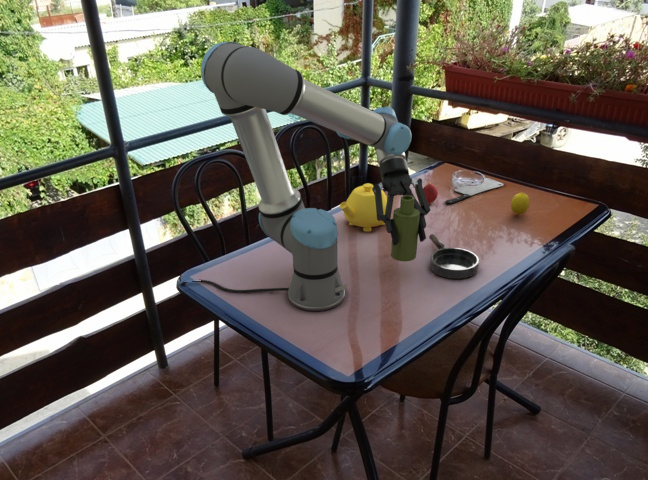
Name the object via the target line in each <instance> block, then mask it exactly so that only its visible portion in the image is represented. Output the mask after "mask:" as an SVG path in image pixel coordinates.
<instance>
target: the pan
mask: <svg viewBox="0 0 648 480" xmlns="http://www.w3.org/2000/svg"><path fill="white" fill-rule="evenodd" d="M479 265H480V258H479V256H477V254H476V253H475V252H472V251H471V250H468V249H464V248H460V247H446V248H442V249H436V250H434V251H433V252H431V254H430V256H429V269H430V271H432V272H433V273H434V274H436V275H437V276H439V277H443V278H448V279H456V280H457V279H459V280H460V279H467V278H469V277H473V276H474V275H476V274H477V272H478V270H479Z"/></svg>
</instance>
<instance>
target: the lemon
mask: <svg viewBox="0 0 648 480" xmlns="http://www.w3.org/2000/svg"><path fill="white" fill-rule="evenodd" d="M529 207H530V197H529V196H528V195H527V194H526V193H524V192H519V193H517V194H515V195H514V196H513V197H512V199H511V202H510V208H511V211H512V212H513V213H514V214H516V215H517V216H520V215H522V214H525V213H526V212H527V211H528V209H529Z"/></svg>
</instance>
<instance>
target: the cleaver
mask: <svg viewBox="0 0 648 480" xmlns="http://www.w3.org/2000/svg"><path fill="white" fill-rule="evenodd" d="M483 178H484V182H483V183H482V184H481V185H477V186H465V185H466V184H464V185H462V186H459V187H458V188H455V189H454V190H453V191H454V192H456V193H459V194H462V195H459V196H458V197H455V198H452V199H447V200H445V204H447V205H452V204H456V203H458V202H461V201H463V200H465V199H467V198H470V197H473V196H475V195H478V194H481V193H484V192H487V191H489V190H494V189H498V188H500V187H504V183H503V182H501V181H497V180H495V179H493V178H489V177H483Z"/></svg>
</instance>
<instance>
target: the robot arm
mask: <svg viewBox="0 0 648 480" xmlns="http://www.w3.org/2000/svg"><path fill="white" fill-rule="evenodd" d="M200 77H201V80H202V83H203V84H204V86H205V87H206V89H208V91H210V93H212V94H213V95H214V97H215V100H216V102H217V105H218V107H219V110H220V113H221V114H222V115H223V116H226V117H228V118H230V120H231V123H232V125H233V129H234V131H235V134H236V137H237V139H238V142H239V144H240V147H241V150H242V152H243V154H244V157H245V160H246V163H247V166H248V168H249V170H250V173H251V176H252V178H253V180H254V183H255V186H256V189H257V191H258V194H259V196H260V200H259V201H260V202H259V203H258V210H259V213H258V222H259V226H260V228H261V230H262V231H263V232H264V234H265V235H266V237H268V238H269V239H271V240H272V241H273V242H275V243H277V244H279V245H280V246H281V247H282V248H284V249H285V250H286V251H288V253H290V254H291V255H292V268H293V269H292V270H293V272H292V276H291V279H290V283H289V285H288V287H273V288H272V287H271V288H253V289H233V288H232V289H231V288H227V287H224V286H222V285H220V284H218V283H216V282H214V281H211V280H206V279H200V280H201V281H192V282H191V283H202V284H203V283H204V284H209V285H212V286H214V287H216V288H218V289H220V290H222V291H224V292H228V293H236V294H244V293H245V294H246V293H260V292H261V293H262V292H283V291H284V292H286V291H288V292H287V294H288V295H287V296H288V298H287V299H288V301H289V303H290V304H292V306H293V307H295V308H297V309H299V310H302V311H306V312H323V311H328V310H332V309H335V308H336V307H339V306H340V305H341V304H342V303H343V302H344V300H345V296H346V291H345V290H347V287H348V285H347V284H348V283H345V284H344V283H343V280H342V278H341V275H340V273H339V269H338V268H339V267H338V266H339V265H338V264H339V263H338V237H339V231H338V226H337V224H338V223H337V220H336V218H335V216H333V214H332V213H330V212H328V211H327V210H325V209H322V208H320V209H317V207H307V208H306V207H305V205H304V202H303V199H302V196H301V192H300V191H299V190H298V189H296V188H294V187H293V186H292V184H291V180H290V178H289V175H288V172H287V168H286V166H285V163H284V160H283V157H282V154H281V150H280V147H279V145H278V141H277V139H276V136H275V133H274V130H273V127H272V124H271V120H270V118H269V115H268V111H271V112H274V113H277V114H279V115H281V116H287V115H289V114H292V115H295V116H297V117H299V118H302V119H304V120H307V121H309V122H311V123H314V124H316V125H319V126H321V127H324V128H326V129H328V130H331V131H333V132H336V134H337V136H339V137H340V138H344V139H347V140H352V141H356V142H359V143H361V144H364V145H366V146H369V147H372V148H374V151H375V155H376V160H377V164H378V169H379V174H380V177H381V178H380V179H381V182H379V183H376V182H375V183H374V184H373V188H372V190H373V192H374V194H375V202H376V213H377V220H378V221H383V222H384V223H385V230H386V233H387V234H390V237H391V243H392V242H393V245H396V244H397V243H398V242H399V240H398V236H397V231H396V226H395V222H394V219H393V218H392V212H393V205H394V199H395V197H396V196H405V195H409V196H413V197H414V208H415V209H418V210H419V211H420V217H419V228H418V238H419V239H418V240H419V243H422V242H424V241H425V240H426V239H427V236H426V231H425V229H426V227H427V222H426V217H425V216H428V214H429V213H430V212H431V208H430V205H429V204H428V202H427V199H426V196H425V193H424V190H423V188H424V186H423V179H422V178H420V177H419V178H418V179H415V178H412V176H411V175H410V170H409V166H408V162H407V159H406V153H405V152H406V151H407V150H408V149H409V147H410V145H411V143H412V138H413V137H412V136H413V135H412V131H411V129H410V127H409V126H407V125H406V124H404V123H402V122H400V121H399V120H398V117H397V115H396V111H395V110H394V109H393V108H392V107H390V106H384V107H382V106H380V107H377V108H375V109H373V110H371V109H369V108H366V107H364V106H362V105H360V104H359V103H356V102H354V101H351V100H349V99H347V98H345V97H343V96H341V95H339V94H337V93H334V92H332V91H331V90H328V89H326V88H323V87H322V86H319V85H318V84H315V83H313V82H311V81H309V80H307V79H305V78H304V75H303V74H302V72H301V71H300V70H297V69H295V68H294V67H292V66H290V65H287V64H286V63H284V62H282V61H281V60H279V59H277V58H276V57H274V56H272V54H270V53H268V52H265V51H264V50H262V49H260V48H257V47H253V46H249V45H244V44H240V43H238V42H235V41H221V42H218V43H215V44H214V45H212V46H211V47H209V48H208V49H207V51H206V52H205V54H204V55H203V58H202V61H201V64H200ZM411 185H412V187H413V189H414V191H415V194H416V196H415V194H413V190H412V188H411ZM381 190H384V191H386V192H387V194H386V196H387V204H386V210H385V215H384V213H383V203H382V193H381ZM416 197H417V198H416ZM417 199H418V200H417ZM188 283H189V282H184V281H182V282H181V283H180V284H179V286H181V287H183V286H184V285H186V284H188Z"/></svg>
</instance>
